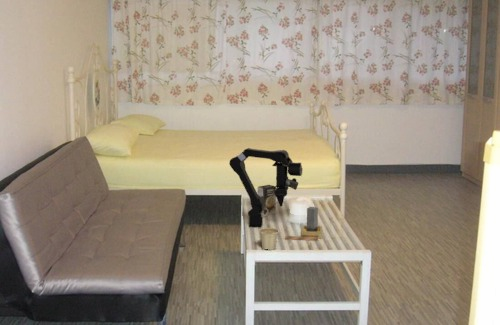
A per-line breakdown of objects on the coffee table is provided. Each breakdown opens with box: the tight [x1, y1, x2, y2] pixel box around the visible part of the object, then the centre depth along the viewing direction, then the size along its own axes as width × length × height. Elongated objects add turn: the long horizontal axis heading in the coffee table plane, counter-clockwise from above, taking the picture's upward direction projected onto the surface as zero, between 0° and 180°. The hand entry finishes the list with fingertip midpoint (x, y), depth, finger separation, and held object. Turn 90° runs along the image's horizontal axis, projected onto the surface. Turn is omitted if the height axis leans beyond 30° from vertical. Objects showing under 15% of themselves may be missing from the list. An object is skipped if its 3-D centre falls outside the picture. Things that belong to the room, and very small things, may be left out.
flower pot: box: [258, 227, 280, 251], centre depth 282 cm, size 9×9×9 cm
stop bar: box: [306, 206, 319, 231], centre depth 300 cm, size 4×4×14 cm
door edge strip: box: [284, 235, 319, 242], centre depth 295 cm, size 16×2×1 cm, turn 84°
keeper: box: [301, 225, 323, 240], centre depth 301 cm, size 10×10×4 cm
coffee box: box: [257, 184, 277, 217], centre depth 340 cm, size 9×6×16 cm
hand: (281, 204), depth 312 cm, fingers open, 9 cm apart
